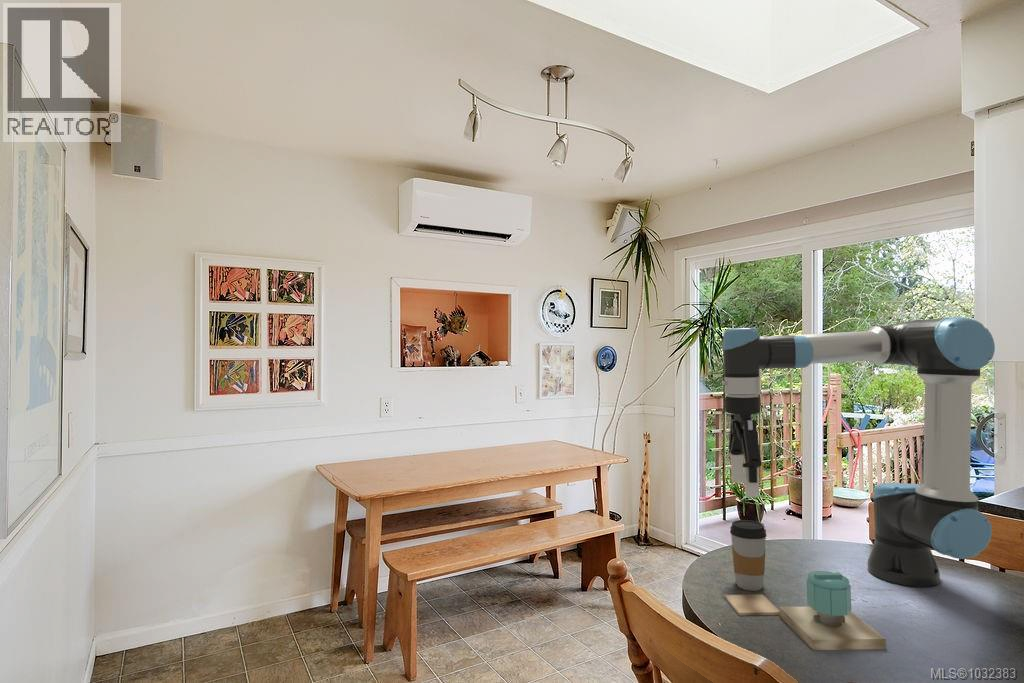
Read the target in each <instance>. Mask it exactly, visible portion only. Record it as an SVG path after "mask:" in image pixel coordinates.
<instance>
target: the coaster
mask: <svg viewBox="0 0 1024 683" xmlns="http://www.w3.org/2000/svg"><path fill="white" fill-rule="evenodd" d="M724 599H725V600H726V601H727V602H728V604H729V605H730V606H731V608H732V609H733V610H734V611H735V612H736V613H737V614H738V616H780V615H779V608H777V607H776V606H775V605H774V604H773V602H771V601H770V600H769V599H768V598H767V597H766V596H765V595H764V594H724Z"/></svg>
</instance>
